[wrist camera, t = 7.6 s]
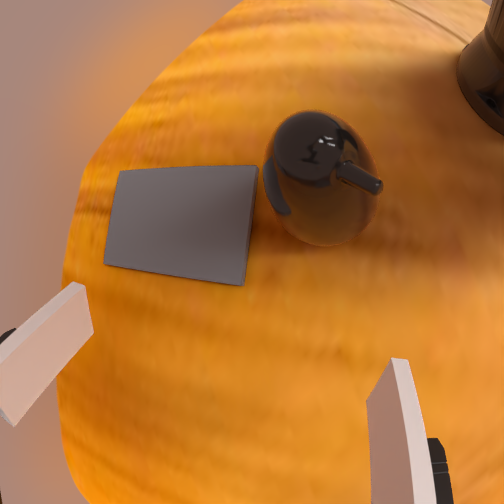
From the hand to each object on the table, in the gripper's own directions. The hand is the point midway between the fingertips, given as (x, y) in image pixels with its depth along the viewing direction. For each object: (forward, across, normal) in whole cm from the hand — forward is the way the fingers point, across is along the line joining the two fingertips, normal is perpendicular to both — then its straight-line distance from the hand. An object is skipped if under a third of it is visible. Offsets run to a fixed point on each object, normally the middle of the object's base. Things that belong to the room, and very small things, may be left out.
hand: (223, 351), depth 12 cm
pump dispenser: (+23, +5, +1) cm, 23 cm away
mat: (+24, -12, -5) cm, 27 cm away
